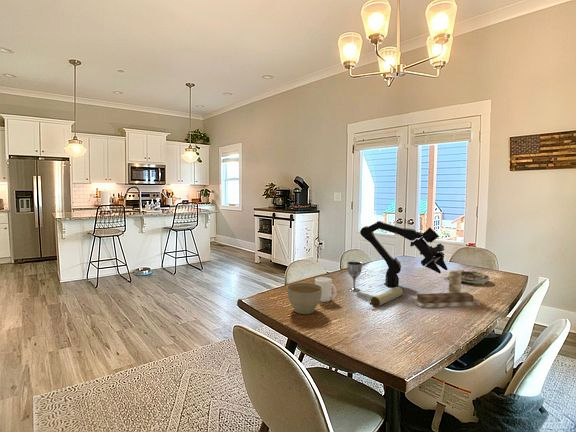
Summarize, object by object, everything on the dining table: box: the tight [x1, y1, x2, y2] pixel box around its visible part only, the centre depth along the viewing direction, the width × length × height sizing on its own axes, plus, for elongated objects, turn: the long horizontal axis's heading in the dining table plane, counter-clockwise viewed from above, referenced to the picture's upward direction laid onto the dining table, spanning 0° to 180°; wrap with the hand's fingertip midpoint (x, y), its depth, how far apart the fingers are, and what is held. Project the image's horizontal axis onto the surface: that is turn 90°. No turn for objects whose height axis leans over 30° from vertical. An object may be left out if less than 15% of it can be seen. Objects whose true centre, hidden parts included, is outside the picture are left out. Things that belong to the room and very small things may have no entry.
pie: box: [444, 269, 490, 286], centre depth 205 cm, size 28×27×5 cm
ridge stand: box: [410, 292, 481, 308], centre depth 165 cm, size 30×9×4 cm, turn 96°
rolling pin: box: [368, 285, 405, 308], centre depth 169 cm, size 32×6×5 cm, turn 134°
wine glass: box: [346, 261, 363, 293], centre depth 185 cm, size 8×8×15 cm
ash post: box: [448, 270, 462, 293], centre depth 175 cm, size 4×4×13 cm
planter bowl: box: [286, 282, 322, 315], centre depth 155 cm, size 16×16×11 cm
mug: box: [314, 276, 338, 303], centre depth 169 cm, size 12×8×10 cm
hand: (443, 271), depth 179 cm, fingers open, 9 cm apart
